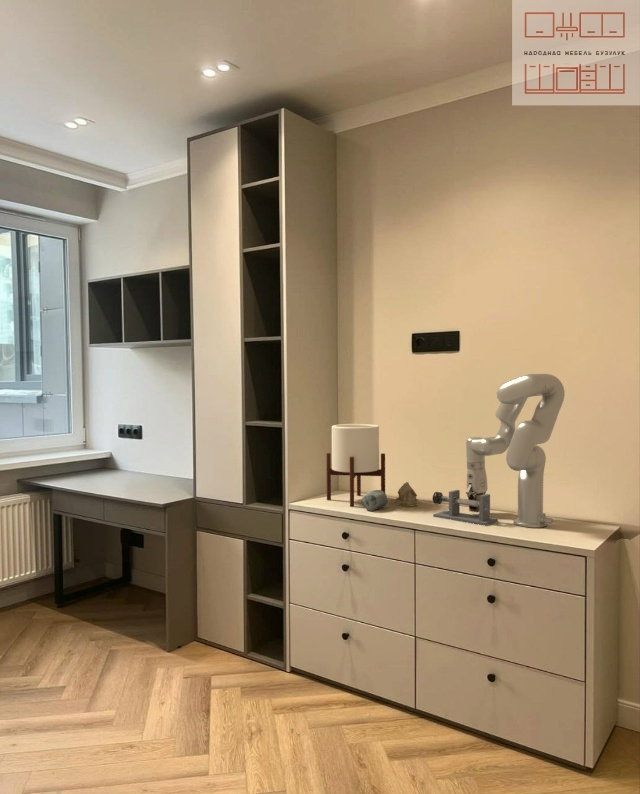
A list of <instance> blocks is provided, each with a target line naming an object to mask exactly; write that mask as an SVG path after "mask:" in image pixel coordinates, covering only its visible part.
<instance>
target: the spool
mask: <svg viewBox="0 0 640 794" xmlns="http://www.w3.org/2000/svg"><path fill="white" fill-rule="evenodd" d="M361 501H362V505H363V507H364V508H365V509H366V510H367V511H369V512H373V511H375V510H377V509H381V508H384V507H386V505H387V504H388V495H387V494H386V492H385V493H384V492H383V491H381V489H375V490H371V491H369V492H367V493H365V494H364V495H363V497H362V499H361Z"/></svg>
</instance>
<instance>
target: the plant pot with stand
mask: <svg viewBox="0 0 640 794" xmlns="http://www.w3.org/2000/svg"><path fill="white" fill-rule="evenodd" d="M331 476H349V507H351V508H352V507H355V478H356V496H357V497H358V496H359V497H360V496H361V495H362V488H361V487H362V485H361V484H362V478H361V477H380V490H381V491H383V492H384V493H385V494H386V453H380V426H379V425H377V424H367V423H344V424H343V423H342V424H341V423H340V424H334V425H332V426H331V452H326V500H327V501H331V500H332V499H331V498H332V477H331Z"/></svg>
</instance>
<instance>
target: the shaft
mask: <svg viewBox="0 0 640 794" xmlns="http://www.w3.org/2000/svg"><path fill="white" fill-rule="evenodd" d="M432 502H433V503H434V504H435V505H440V504H442V503H449V496H447V495H446V496H445V495H444V494H443V493H442V492H440V491H435V492H434V493H433V495H432ZM454 503H455V504H460V505H462V506H468V507H469V506H474V507H479V501H474V500H468V498H461V497H460V498H455V497H454Z"/></svg>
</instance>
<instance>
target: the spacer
mask: <svg viewBox="0 0 640 794" xmlns="http://www.w3.org/2000/svg"><path fill="white" fill-rule="evenodd" d="M485 494H486V493H485ZM485 494H484V493H479V494H476V498H475V500H476V501H479V496H481V495H485ZM472 495H474V494H472ZM484 508H485V502H484ZM468 511H469V512H471V513H479V507H476V510H474V509H469V508H468Z"/></svg>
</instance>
